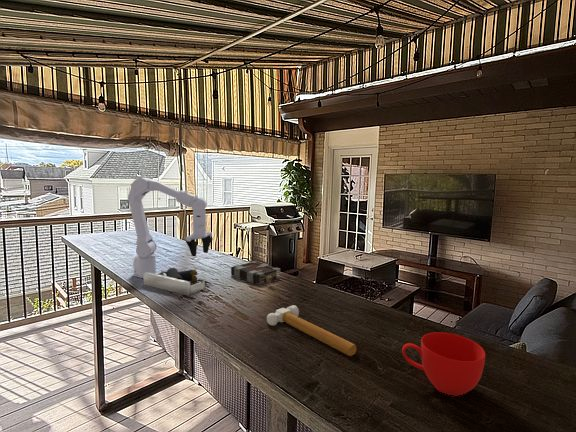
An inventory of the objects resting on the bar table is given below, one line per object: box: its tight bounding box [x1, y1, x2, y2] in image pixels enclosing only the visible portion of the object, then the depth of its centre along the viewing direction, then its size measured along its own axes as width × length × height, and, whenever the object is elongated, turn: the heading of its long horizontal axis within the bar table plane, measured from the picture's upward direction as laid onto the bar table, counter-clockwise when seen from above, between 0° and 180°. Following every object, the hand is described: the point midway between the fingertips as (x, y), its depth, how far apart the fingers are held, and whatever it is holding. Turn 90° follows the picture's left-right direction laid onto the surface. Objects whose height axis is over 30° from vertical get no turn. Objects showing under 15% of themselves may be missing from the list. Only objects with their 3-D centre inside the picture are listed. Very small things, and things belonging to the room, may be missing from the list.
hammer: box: [266, 304, 357, 357], centre depth 100 cm, size 12×4×30 cm
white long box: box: [143, 270, 206, 297], centre depth 139 cm, size 25×10×5 cm, turn 61°
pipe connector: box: [165, 267, 198, 283], centre depth 144 cm, size 12×5×15 cm
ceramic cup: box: [401, 331, 486, 397], centre depth 76 cm, size 13×17×10 cm
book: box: [230, 260, 281, 285], centre depth 151 cm, size 15×25×5 cm, turn 47°
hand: (199, 254), depth 154 cm, fingers open, 7 cm apart
